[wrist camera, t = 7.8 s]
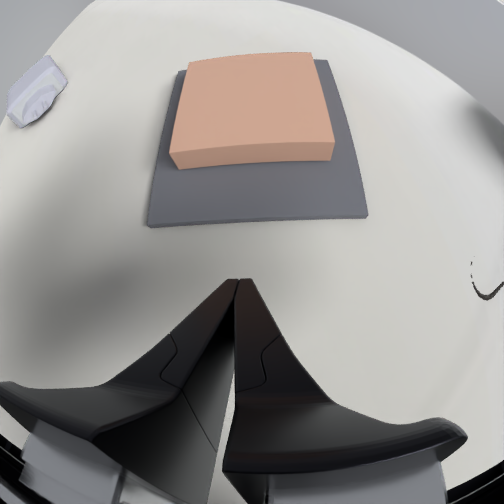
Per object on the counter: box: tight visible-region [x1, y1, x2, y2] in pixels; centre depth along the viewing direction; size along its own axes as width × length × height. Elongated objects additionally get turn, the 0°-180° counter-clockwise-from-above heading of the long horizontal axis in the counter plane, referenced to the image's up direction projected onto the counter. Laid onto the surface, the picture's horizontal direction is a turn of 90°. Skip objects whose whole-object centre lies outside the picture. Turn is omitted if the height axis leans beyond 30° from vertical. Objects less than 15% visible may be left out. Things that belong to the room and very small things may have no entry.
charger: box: [7, 55, 67, 128], centre depth 23 cm, size 5×9×15 cm
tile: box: [169, 52, 335, 170], centre depth 18 cm, size 2×10×10 cm
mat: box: [147, 60, 368, 228], centre depth 19 cm, size 16×14×1 cm
